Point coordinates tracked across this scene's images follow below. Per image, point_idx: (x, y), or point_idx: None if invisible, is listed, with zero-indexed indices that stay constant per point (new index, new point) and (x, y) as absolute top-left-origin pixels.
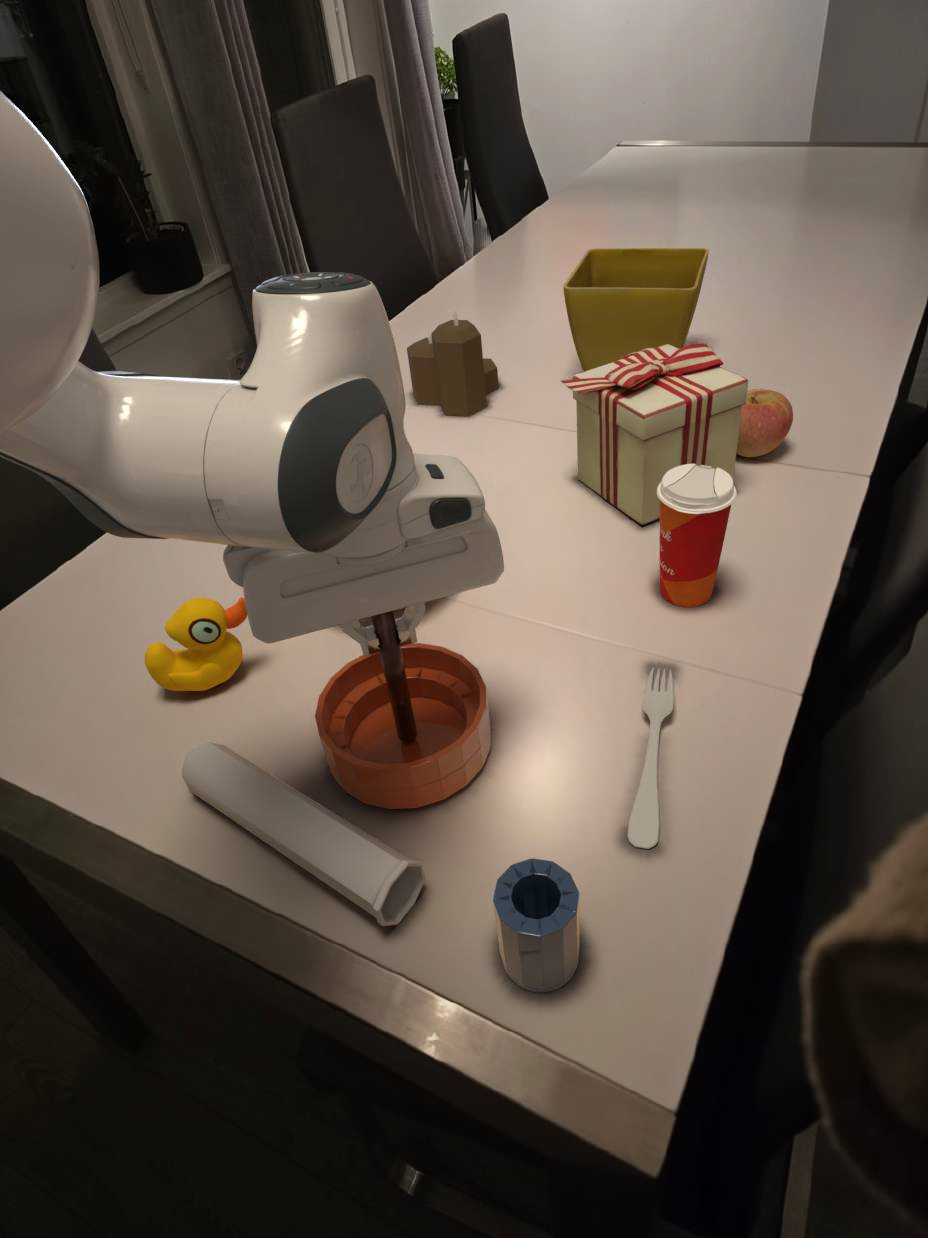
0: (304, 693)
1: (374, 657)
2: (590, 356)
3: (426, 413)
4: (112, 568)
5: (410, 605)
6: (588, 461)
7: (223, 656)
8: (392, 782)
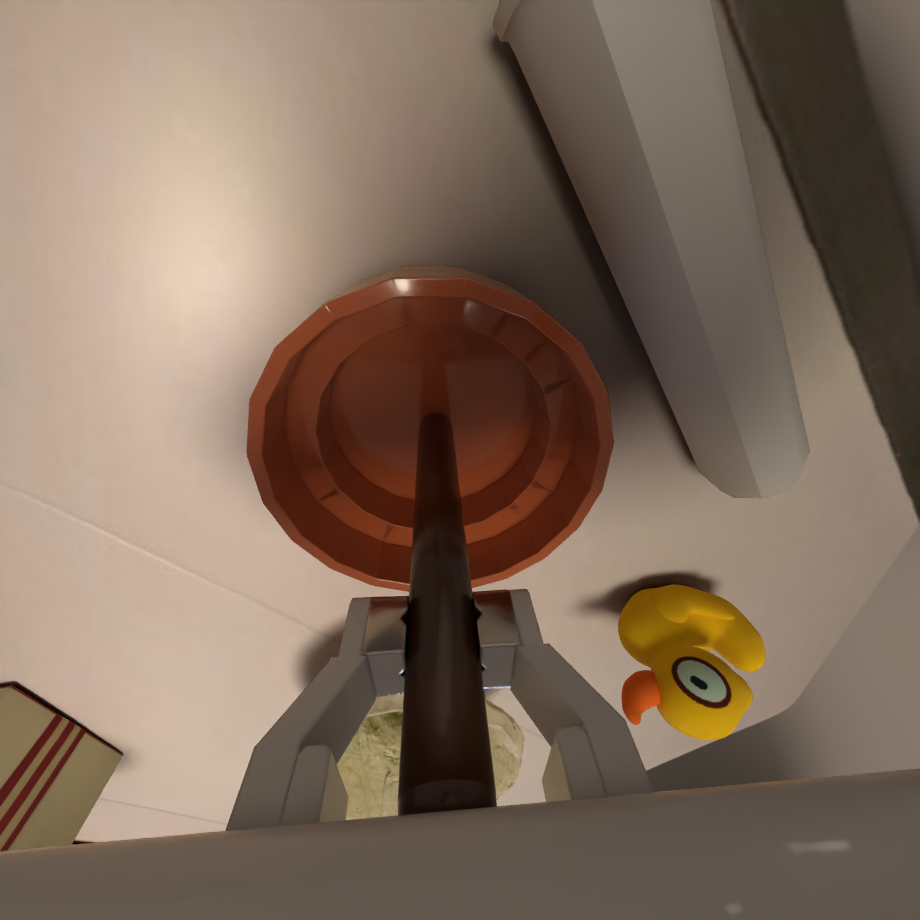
0: None
1: None
2: None
3: None
4: (680, 735)
5: (292, 838)
6: (74, 793)
7: (658, 628)
8: (503, 287)
